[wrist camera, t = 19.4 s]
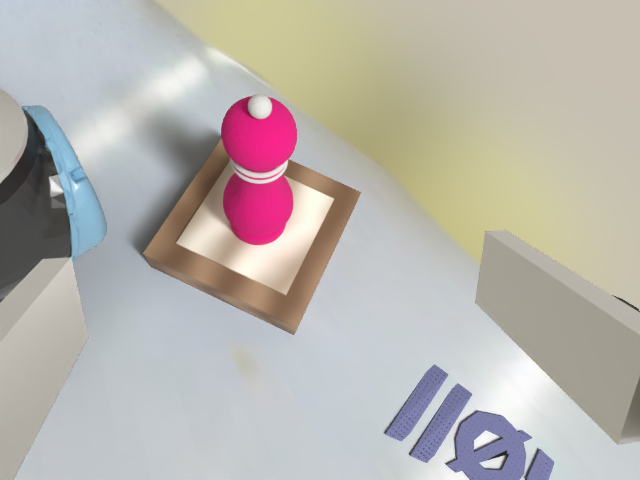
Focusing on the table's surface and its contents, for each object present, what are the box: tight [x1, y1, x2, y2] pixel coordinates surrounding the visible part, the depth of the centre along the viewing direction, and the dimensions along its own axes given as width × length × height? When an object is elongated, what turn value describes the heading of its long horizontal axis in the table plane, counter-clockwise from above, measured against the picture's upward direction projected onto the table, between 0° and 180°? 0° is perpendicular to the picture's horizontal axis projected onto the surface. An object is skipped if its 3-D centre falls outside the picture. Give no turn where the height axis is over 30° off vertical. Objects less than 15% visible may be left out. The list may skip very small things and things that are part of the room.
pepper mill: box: [221, 94, 297, 245], centre depth 41 cm, size 7×7×20 cm
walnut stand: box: [143, 138, 361, 335], centre depth 52 cm, size 18×18×4 cm
